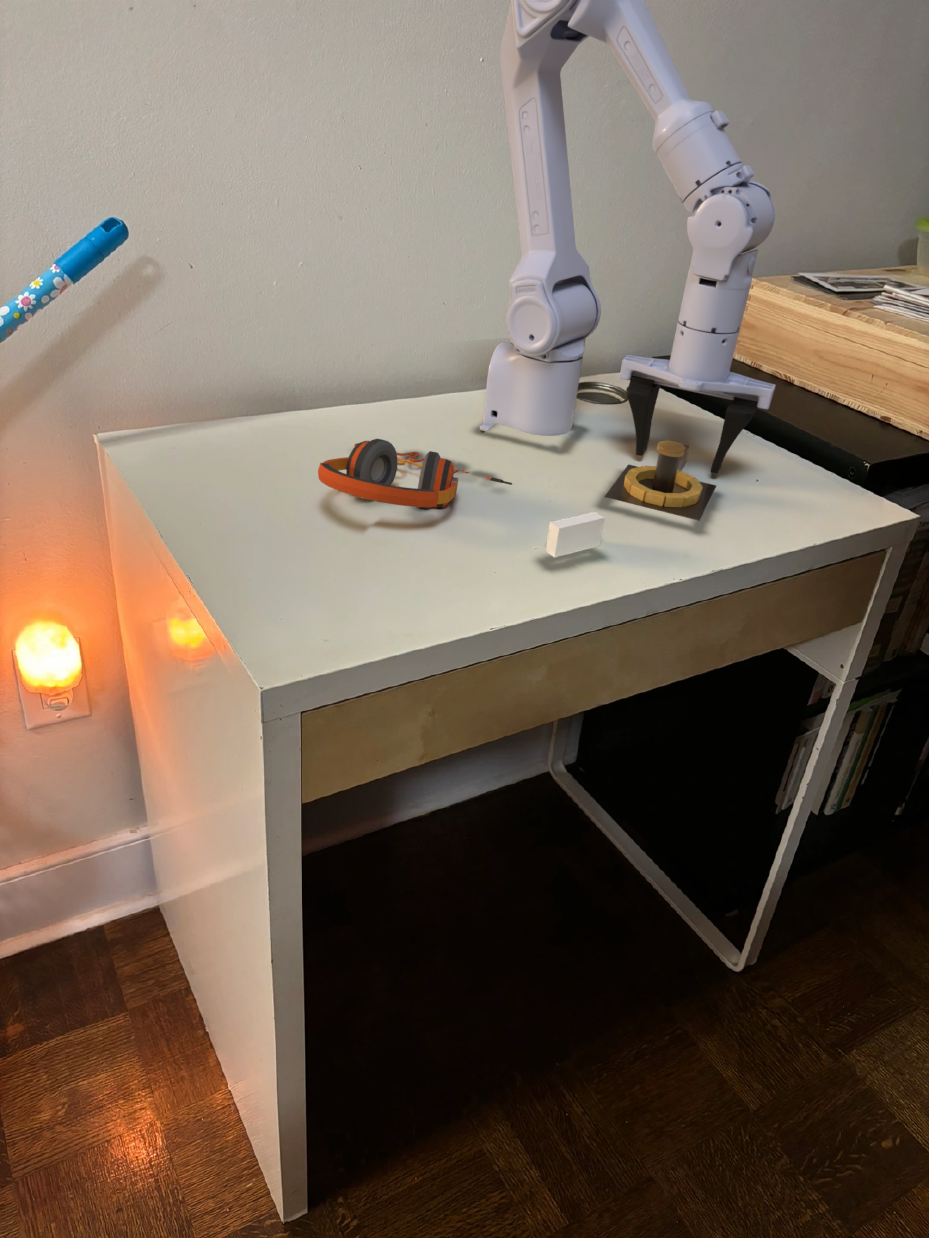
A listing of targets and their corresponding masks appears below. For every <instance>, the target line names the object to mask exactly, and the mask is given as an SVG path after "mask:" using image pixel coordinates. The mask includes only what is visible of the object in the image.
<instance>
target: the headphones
mask: <svg viewBox="0 0 929 1238" xmlns="http://www.w3.org/2000/svg"><path fill="white" fill-rule="evenodd" d="M419 455H420V453H419V452H418V451H412V452H405V453H404V452H403V453H400V452H397V451H396V448H395V446H394V445H393V443H392V442H390V441H389V440H385V439H382V438H373V439H371V440H363V441H361V442H357V443H354V444H353V448H352V450H351V452H350V453H349V456H346V457H337V458H331V459H326V460H324V461H323V462H320V463H319V466H318V468H317V476H318V477H317V478H318V480H319V481H320V483H322V484H323V485H325V486H327V487H329V488H331V489H333V490H335V491H337V492H338V491H339V492H341V493H343V494H347V495H349V496H354V497H357V498H361V499H365V500H369V501H374V502H377V503H383V504H384V503H385V504H390V505H395V506H396V505H397V506H402V507H403V506H405V507H414V508H418V509H422V510H430V509H433V508H434V509H444V508H446V507H447V506H448V504H449V503H450V502H451V501H452V500H453V499H454V497H455V496H456V495H457V490H458V485H459V477H456V476H454V475H455V473H457V472H458V471H459V470H460V469H459V468H457V469H455V465H454V464H453V461H451V460H449V459H447V458H442V457H441V455H440V454H439V452H437V451H432V450H429V451H428V452H427V453H426V454H425V456H424V457H423V458H421V459H415V458H416V457H418V456H419ZM399 456H400V457H404V456H405V457H406V456H408V460H407V459H403V458H400V457H399ZM420 463H422V464H420ZM406 464H410V465H414V466H417V467H419V468H421V469H420V473H419V478H418V484H417V488H415V487H405V486H399V485H398V486H397V485H392V484H393V483H394V481H395V478H396V476H397V472H398V466H405V465H406ZM345 470H346V471H345ZM342 471H345V473H344V472H342ZM461 472H462V474H469V473H470V471H465V470H464V469H462V470H461ZM485 478H486V479H487V480H490V481H491V482H496V483H500V484H506V485H509V486H510V485H511V486H512V485H513V483H512V482H510V481H505V480H504V479H501V478H497V477H489V476H487V475H485Z"/></svg>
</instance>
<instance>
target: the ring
mask: <svg viewBox="0 0 929 1238" xmlns="http://www.w3.org/2000/svg"><path fill="white" fill-rule="evenodd" d="M682 444H683V445H684V446H685V447H686V450H685V454H684V455H683V456H681V457H680V462H679V466H678V470H677V475H676V479H675V483H676V484H678V485H680V486H682V487H684V488H686V489H687V491H686V492H683V493H663V492H659V491H655V490H651V489H649V488H647V487H645V486H643V485H641V484H639V482H638V481H641V480H645V479H654V475H655V470H656V466H657V465H641V466H637V468H633V469H631V470H629V472H628V473H627V474H626V476H625V480H624V487H625V488H626V490H627V492H628V493H630V495H632V496H634V497H635V498H637V499H639V500H641V501H645V502H646V503H650V504H654V505H658V506H663V505H664V507H682V506H683V507H686V506H690V505H693V504H696V503H697V502H698V500H699V498H700V497H701V493H702V489H703V487H702V485H701V484H700V482H701V481H700V480H699V479H698V478H696V477H695V476H693V475H691V474H689V473H687V472H685V471H682V470H683V468H684V466H685V464H686V461H687V458H688V454H689V448H690V444H685V443H682ZM699 481H700V482H699Z"/></svg>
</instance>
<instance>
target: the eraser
mask: <svg viewBox="0 0 929 1238" xmlns="http://www.w3.org/2000/svg"><path fill="white" fill-rule="evenodd" d="M605 520H606V517H605V516H603V515H602V514H600V513H598V512H597V511H592V512H587V513H583V514H579V515H574V516H571V517H566V518H562V519H558V520H553V521H549V526H548V532H547V539H546V545H545V552H546V553H548V555H550V556H552V557H553V558H558V557H561V556H566V555H570V554H574V553H577V552H582V551H586V550H590V549H594V548H597V547H598V548H599V547H601V540H602V535H603V530H604V523H605Z"/></svg>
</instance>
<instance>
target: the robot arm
mask: <svg viewBox="0 0 929 1238" xmlns="http://www.w3.org/2000/svg"><path fill="white" fill-rule="evenodd" d="M656 24H657V23H656V21H655V20H654V18H653V16H652V14H651V12H650V10H649V8H648V5H647V3H646V0H510V3H509V9H508V14H507V18H506V22H505V27H504V30H503V31H504V32H503V36H502V39H501V40H502V41H501V45H500V51H499V64H500V73H501V82H502V91H503V100H504V101H503V102H504V109H505V110H504V111H505V117H506V118H505V119H506V128H507V136H508V145H509V154H510V163H511V171H512V182H513V189H514V191H513V192H514V201H515V207H516V217H517V226H518V235H519V245H520V254H521V258H520V260H519V261H518V263H517V265H516V267H515V269H514V270H513V272H512V274H511V276H510V278H509V281H508V287H509V301H508V306H507V309H506V313H505V330H506V332H507V335H508V339H509V340H510V342H508V341H502V342H499V344H497V346H496V347H495V348H494V351H493V353H492V355H491V357H490V362H489V366H488V370H487V379H486V385H485V386H486V387H485V398H484V406H483V416H482V424H480V425H479V430H480V431H482V432H488V431H489V429H491V428H492V427H493V426H494V425H500V426H504V427H507V428H510V429H514V430H516V431H519V432H521V433H524V434H529V435H533V436H540V437H541V436H542V437H554V436H555V437H556V436H561V435H565V434H568V433H570V431H571V430H573V424H574V423H573V422H574V416H575V409H576V405H577V404H576V403H577V397H578V391H579V384H580V378H581V371H582V365H583V359H584V353H585V346H586V345H585V344H586V338H588V337H590V336H591V335H592V334H593V333H594V332H595V330H596V329H597V328H598V326H599V323H600V320H601V315H602V305H601V300H600V298H599V295H598V293H597V291H596V290H595V288H594V285H593V284H592V280H591V272H590V267H589V264H588V263H587V261H586V260H585V259H584V258H583V256H582V254H580V252H579V250H578V249H577V246H576V236H575V225H574V224H575V223H574V212H573V201H572V190H571V189H572V188H571V180H570V169H569V155H568V144H567V135H566V124H565V122H566V121H565V113H564V111H565V110H564V102H563V101H564V100H563V91H562V90H563V89H562V80H561V79H562V78H561V77H562V76H561V71H562V69H563V67H564V66H565V64H566V63H567V62H568V60H569V59H570V57H571V56H572V55H573V54H574V52H575V51H576V49H577V48H578V47H579V45H580V44H582V43H583V42H584V41H585V40H587V39H588V38H589V37H590V38H593V39H595V40H598V41H600V42H602V43H605V44H606V45H607V46H608V48H609V49H610V51H611V53H612V54H613V56H614V57H615V59H616V61H617V62H618V64H619V66H620V67H621V69H622V70H623V73H625V75H626V77H627V79H628V80H629V82H630V83H631V85H632V87H633V88H634V90H635V92H636V94H637V95H638V97H639V98H640V100H641V101H642V103H643V104H644V106H645V107H646V110H647V111H648V113H649V115H650V116H651V118H652V120H653V121H654V131H653V135H652V142H651V148H652V149H653V151H654V153H655V155H656V157H657V159H658V161H659V162H660V164H661V166H662V168H663V170H664V172H665V173H666V175H667V177H668V179H669V182H670V183H671V184H672V187H673V188H674V190H675V192H676V194H677V196H678V197H679V199H680V201H681V203H682V205H683V207H684V208H685V210H686V211H687V212H689V213H690V214H691V216H688V217H687V221H686V233H687V237H688V240H689V243H690V245H691V247H692V254H691V259H690V263H689V268H688V271H687V276H686V281H685V285H684V290H683V294H682V295H683V296H682V301H681V304H680V308H679V315H678V320H677V323H676V329H675V333H674V338H673V343H672V347H671V352H670V357H669V359H666V358H665V359H664V358H656V357H655V358H654V357H645V356H637V355H631V354H627V355H626V356H625V357H624V358H623V359H622V360H621V366H620V372H619V380H624V381H629V383H628V386H627V387H626V388H625V389H626V391H625V393H626V399H627V401H628V404H629V407H630V410H631V414H632V418H633V419H632V420H633V425H634V432H635V455H636V456H639V457H643V456H644V455H645V453H646V452H647V450H648V446H649V442H650V436H651V432H652V431H651V430H652V424H653V423H652V422H653V417H654V414H655V413H654V412H655V409H656V404H657V399H658V397H659V393H660V392H659V391H660V389H661V387H662V386H663V387H669V388H673V389H678V390H682V391H687V392H693V393H696V394H697V393H698V394H702V395H707V396H712V397H716V398H721V399H725V400H731V401H730V403H729V405H728V406H727V408H726V411H725V415H724V421H723V426H722V430H721V434H720V439H719V443H718V446H717V449H716V452H715V455H714V458H713V461H712V464H711V469H710V473H711V474H715V475H718V474H719V472H720V471H721V468H722V466H723V462H724V460H725V457H726V454H727V453H728V451H729V450H730V448H731V447H732V445H733V444H734V442H735V440H736V439H737V437H738V436H739V435H740V434H741V432H742V431H743V430H744V429H745V427H746V426H747V425H748V424H749V423H750V421H751V420H752V419H753V417H754V416H755V413H756V412H757V410H758V408H759V409H763V410H767V411H768V410H769V409H770V407H771V404H772V401H773V397H774V393H775V390H776V386H777V384H776V383H775V384H774V383H772V382H771V383H770V382H766V381H762V380H759V379H755V378H752V377H749V376H747V375H746V376H745V375H743V374H739V373H736V372H734V371H733V372H732V371H731V368H732V364H733V363H732V362H733V359H734V354H735V351H736V347H737V344H738V338H739V335H740V330H741V327H742V322H743V318H744V314H745V311H746V306H747V304H748V303H747V302H748V298H749V294H750V290H751V285H752V283H753V274H754V271H755V267H756V263H757V262H756V261H757V259H758V253H759V249H757V248H758V247H759V246H760V245H762V244H763V243H764V242H765V241H766V240H767V239H768V237H769V236H770V234H771V232H772V231H773V228H774V225H775V221H776V209H775V205H774V201H773V199H772V193H771V190H769V188H768V187H767V186H765V185H764V184H763V183H761V182H759V181H758V182H757V181H753V180H751V179H752V178H753V177H754V176H755V172H754V170H753V169H752V167H751V165H750V164H746V165H744V164H743V161H742V159H741V158H740V156H739V154H738V152H737V151H736V149H735V147H734V145H733V143H732V141H731V140H730V138H729V136H728V133H727V132H726V130H725V128H726V127H728V126H729V125H730V120H729V118H728V117H727V115H726V113H725V111H724V110H715V109H714V108H713V105H712V103H710V102H707V101H703V100H694V99H692V98H691V97H690V95H689V92H688V91H687V88H686V86H685V84H684V82H683V80H682V78H681V76H680V73H679V71H678V69H677V67H676V65H675V63H674V61H673V59H672V57H671V54H670V52H669V50H668V47H667V46H666V43H665V42H664V40H663V37H662V35H661V33H660V31H659V29H658V27H657V25H656Z"/></svg>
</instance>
